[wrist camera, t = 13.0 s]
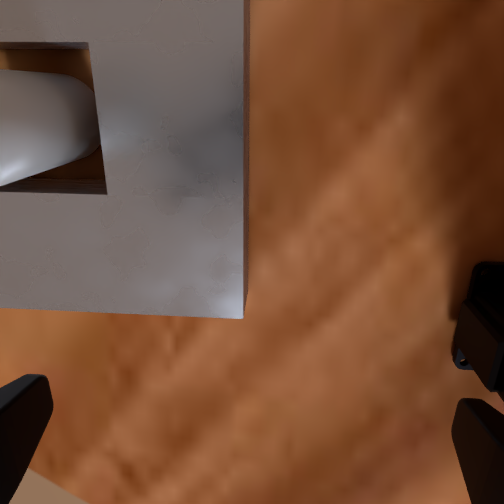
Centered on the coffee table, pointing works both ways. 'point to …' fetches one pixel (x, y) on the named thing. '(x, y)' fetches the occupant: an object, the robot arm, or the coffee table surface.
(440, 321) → the coffee table surface
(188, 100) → the housing
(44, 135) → the plug
